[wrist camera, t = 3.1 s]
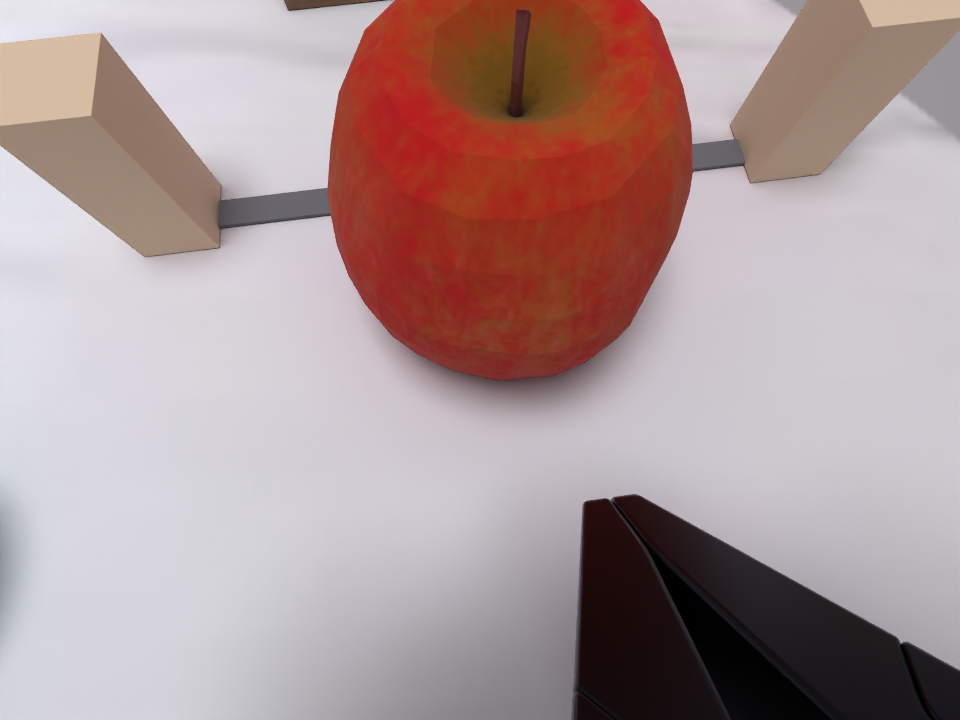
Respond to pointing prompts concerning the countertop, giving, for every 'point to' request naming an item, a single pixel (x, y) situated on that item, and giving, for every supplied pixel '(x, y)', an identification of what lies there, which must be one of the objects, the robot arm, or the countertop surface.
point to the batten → (318, 3)
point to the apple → (509, 176)
